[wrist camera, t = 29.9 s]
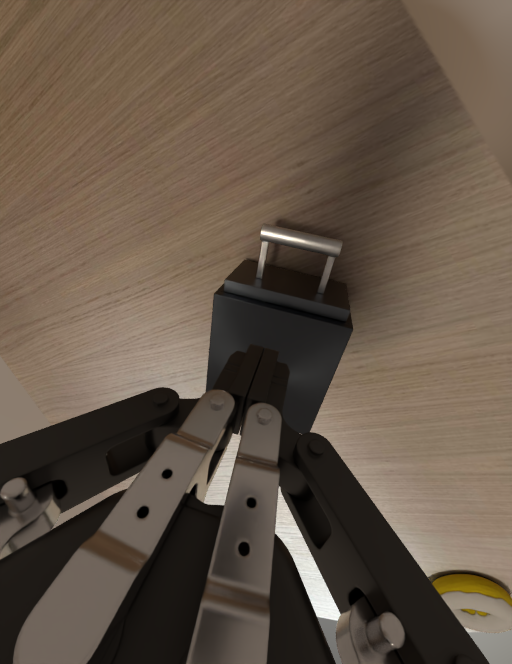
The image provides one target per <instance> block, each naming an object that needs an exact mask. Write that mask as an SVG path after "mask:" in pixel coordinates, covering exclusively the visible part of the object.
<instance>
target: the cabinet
mask: <svg viewBox="0 0 512 664" xmlns="http://www.w3.org/2000/svg"><path fill="white" fill-rule="evenodd" d="M352 331H353V325H352V319H351V313H349V316H348V318H347V321H346V322H343V321H339V320H335V319H333V320H331V319H327V318H323V317H319V316H315V315H311V314H307V313H303V312H299V311H295V310H291V309H287V308H283V307H279V306H275V305H272V304H268V303H264V302H260V301H256V300H252V299H248V298H244V297H240V296H237V295H236V294H232V293H228V292H224V284H223V285H222V286H221V287H220V288H219V289H218V290H217V291H216V292H215V293H214V300H213V312H212V324H211V336H210V347H209V359H208V371H207V383H206V392H208V391H210V390H212V388H213V386H214V385H215V383H216V381H217V379H218V377H219V375H220V373H221V372H222V370H223V368H224V366H225V364H226V363H227V361H228V359H229V357H230V355H232V354H233V353H235V352H236V351H241V352H245V353H246V352H247V349H248V347H249V345H250V344H253V345H257V346H261V347H264V350H265V348H268V349H272V350H276V351H279V355H278V359H277V361H278V362H281V363H285V364H287V365H288V368H289V371H290V374H289V379H288V385H287V390H286V395H285V400H284V405H283V410H282V414H283V418H284V420H285V422H286V423H287V425H288V426H289V427H290V428H292V429H293V430H295V431H296V432H298V433H300V434H304V433H308V432H310V430H311V428H312V425H313V423H314V421H315V418H316V416H317V414H318V411H319V409H320V407H321V404H322V402H323V400H324V397H325V395H326V392H327V390H328V388H329V385H330V383H331V381H332V378H333V376H334V374H335V371H336V369H337V367H338V364H339V362H340V360H341V357H342V355H343V352H344V350H345V348H346V345H347V343H348V341H349V338H350V336H351V334H352ZM263 353H264V352H263Z"/></svg>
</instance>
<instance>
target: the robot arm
mask: <svg viewBox="0 0 512 664" xmlns="http://www.w3.org/2000/svg"><path fill="white" fill-rule="evenodd" d="M263 352H264V353H263ZM278 355H279V351H276V350H272V349H268V348H265V350H264V347H261V346H257V345H253V344H250V345H249V347H248V349H247V352H246V353H245V352H241V351H236V352H235V353H233V354H232V355H230V357H229V359H228V361H227V363H226V364H225V366H224V368H223V370H222V372H221V373H220V375H219V377H218V379H217V381H216V383H215V385H214V386H213V388H212V390H210V391H208V392H206V393H205V394H203V395H202V397H201V398H197V399H179V395H178V394H177V392H176V391H174V390H172V389H170V388H164V387H162V388H156V389H153V390H150V391H147V392H144V393H141V394H139V395H136V396H133V397H130V398H127V399H125V400H122V401H119V402H116V403H113V404H111V405H108V406H105V407H102V408H100V409H97V410H94V411H91V412H88V413H86V414H83V415H80V416H77V417H74V418H72V419H69V420H66V421H63V422H60V423H58V424H55V425H52V426H49V427H47V428H44V429H41V430H38V431H35V432H33V433H30V434H27V435H24V436H21V437H19V438H16V439H13V440H11V441H7V442H5V443H2V444H0V664H336V663H335V660H334V658H333V655H332V653H331V650H330V648H329V646H328V643H327V641H326V638H325V636H324V633H323V631H322V628H321V626H320V624H319V621H318V619H317V616H316V614H315V611H314V609H313V606H312V604H311V601H310V599H309V597H308V594H307V592H306V589H305V587H304V584H303V582H302V579H301V577H300V575H299V572H298V570H297V567H296V565H295V562H294V560H293V558H292V556H291V554H290V552H289V551H288V549H287V547H286V546H285V545H284V543H283V542H282V540H281V539H280V538H279V537H278V536H277V535H276V534H275V524H276V512H277V500H278V488H279V486H280V487H281V492H282V495H283V497H284V499H285V501H286V503H287V505H288V507H289V509H290V511H291V513H292V515H293V517H294V519H295V521H296V523H297V526H298V528H299V530H300V532H301V534H302V536H303V538H304V540H305V542H306V544H307V546H308V548H309V550H310V552H311V554H312V556H313V558H314V560H315V562H316V564H317V566H318V568H319V571H320V573H321V575H322V577H323V579H324V581H325V583H326V585H327V587H328V589H329V591H330V593H331V595H332V597H333V599H334V601H335V603H336V605H337V607H338V609H339V611H340V614H341V615H340V617H339V619H338V623H337V627H336V642H337V647H338V652H339V655H340V658H341V661H342V664H489V662H488V661H487V659H486V658H485V656H484V655H483V654H482V652H481V651H480V649H479V648H478V647H477V645H476V644H475V642H474V641H473V640H472V638H471V637H470V635H469V634H468V633H467V631H466V630H465V629H464V627H463V626H462V624H461V623H460V622H459V620H458V619H457V618H456V616H455V615H454V613H453V612H452V611H451V609H450V608H449V606H448V605H447V604H446V602H445V601H444V600H443V598H442V597H441V595H440V594H439V593H438V591H437V590H436V589H435V587H434V586H433V584H432V583H431V582H430V580H429V579H428V577H427V576H426V575H425V573H424V572H423V571H422V569H421V568H420V566H419V565H418V564H417V562H416V561H415V559H414V558H413V557H412V555H411V554H410V553H409V551H408V550H407V548H406V547H405V546H404V544H403V543H402V542H401V540H400V539H399V537H398V536H397V535H396V533H395V532H394V530H393V529H392V528H391V526H390V525H389V524H388V522H387V521H386V519H385V518H384V517H383V515H382V514H381V513H380V511H379V510H378V508H377V507H376V506H375V504H374V503H373V501H372V500H371V499H370V497H369V496H368V495H367V493H366V492H365V490H364V489H363V488H362V486H361V485H360V484H359V482H358V481H357V479H356V478H355V477H354V475H353V474H352V472H351V471H350V470H349V468H348V467H347V466H346V464H345V463H344V461H343V460H342V459H341V457H340V456H339V454H338V453H337V452H336V450H335V449H334V448H333V446H332V445H331V443H330V442H329V441H328V440H327V439H326V438H324V437H323V436H321V435H319V434H317V433H312V432H308V433H304V434H302V435H301V434H299V433H298V432H296V431H295V430H293V429H292V428H290V427H289V426H288V425H287V423H286V422H285V420H284V418H283V414H282V410H283V405H284V400H285V395H286V390H287V385H288V379H289V374H290V371H289V368H288V365H287V364H285V363H281V362H278V361H277V359H278ZM240 427H241V430H240ZM239 430H240V435H241V440H240V444H239V448H238V452H237V456H236V459H235V463H234V468H233V472H232V476H231V480H230V484H229V488H228V493H227V497H226V501H225V505H207V504H205V503H204V500H205V497H206V494H207V491H208V488H209V486H210V484H211V482H212V480H213V478H214V475H215V473H216V471H217V469H218V467H219V465H220V462H221V460H222V458H223V456H224V454H225V452H226V450H227V446H228V444H229V442H230V439H231V436H232V434H233V433H234V434H238V433H239ZM139 472H140V473H139ZM137 473H139V474H138V476H137V477H136V478H135V480H134V481H133V482H132V484H131V485H130V487H129V488H128V489H125V490H122V491H120V492H117V493H115V494H113V495H111V496H109V497H107V498H106V499H104V500H102V501H101V502H99V503H97V504H95V505H94V506H92V507H90V508H89V509H87V510H85V511H84V512H82V513H80V514H79V515H76V516H75V517H73V518H71V519H70V520H68V521H66V522H64V523H63V524H61V525H59V526H57V527H56V528H54V529H52V528H53V526H54V525H55V524H56V522H57V521H58V518H59V516H60V514H61V513H63V512H65V511H67V510H69V509H71V508H72V507H74V506H76V505H78V504H80V503H82V502H84V501H86V500H88V499H90V498H91V497H93V496H95V495H97V494H99V493H101V492H103V491H105V490H107V489H109V488H111V487H112V486H114V485H116V484H118V483H120V482H122V481H124V480H126V479H128V478H129V477H131V476H133V475H135V474H137ZM51 529H52V530H51Z"/></svg>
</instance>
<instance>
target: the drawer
mask: <svg viewBox="0 0 512 664" xmlns="http://www.w3.org/2000/svg"><path fill="white" fill-rule="evenodd" d="M260 240H263V241H262V245H261V251H260V257H259V263H257V262H252V261H248V260H244V261H243V262H242V263H241V264H240V265H239V266H238V267H237V268H236V269H235V270H234V271H233V272H232V273H231V274H230V275H229V276H228V277H227V278H226V279H225V283H224V292H228V293H232V294H236V295H237V296H240V297H244V298H248V299H252V300H256V301H260V302H264V303H265V302H268V303H272V304H276V305H280V306H284V307H287V308H291V309H295V310H299V311H303V312H305V313H307V314H311V315H315V316H319V317H323V318H327V319H331V320H333V319H335V320H339V321H343V322H346V321H347V318H348V316H349V313H350V305H349V299H348V292H347V286H346V284H345V283H341V282H337V281H333V280H328V278H329V275H330V272H331V269H332V266H333V263H334V260H335V257H338V256H339V254H340V251H341V248H342V244H343V241H342V240H337V239H333V238H328V237H323V236H319V235H314V234H310V233H305V232H301V231H296V230H291V229H287V228H282V227H278V226H273V225H269V224H263V225H262V228H261V233H260ZM269 242H272V243H276V244H281V245H285V246H290V247H294V248H299V249H303V250H307V251H312V252H316V253H321V254H325V255H328V258H327V261H326V264H325V267H324V271H323V274H322V277H321V278H320V277H316V276H312V275H307V274H303V273H299V272H295V271H290V270H286V269H282V268H278V267H274V266H269V265H265V264H266V258H267V253H268V247H269Z"/></svg>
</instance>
